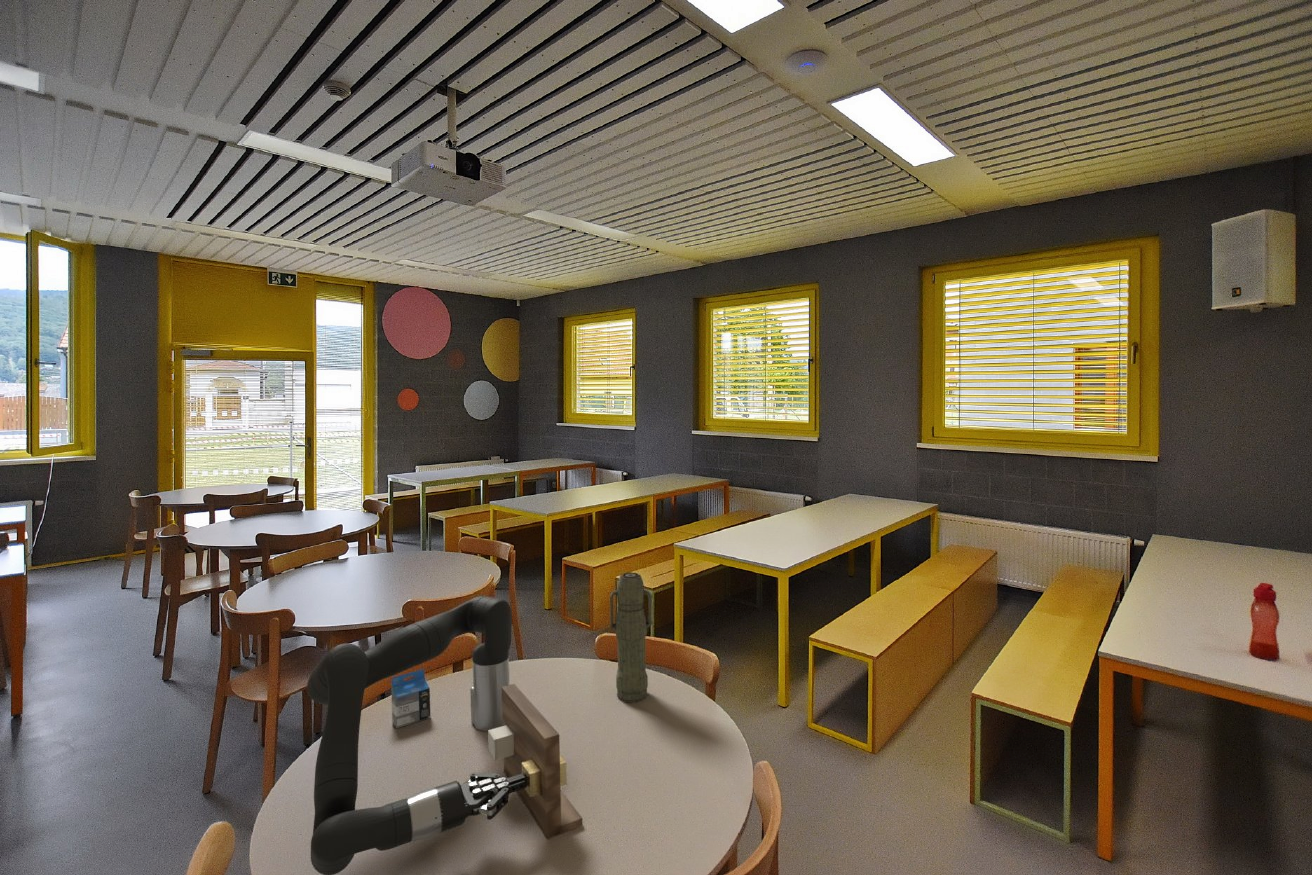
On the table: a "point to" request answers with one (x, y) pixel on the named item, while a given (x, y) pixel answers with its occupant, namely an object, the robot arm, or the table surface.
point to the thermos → (631, 636)
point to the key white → (501, 742)
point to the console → (544, 748)
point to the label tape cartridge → (410, 699)
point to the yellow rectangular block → (539, 776)
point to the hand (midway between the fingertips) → (525, 779)
